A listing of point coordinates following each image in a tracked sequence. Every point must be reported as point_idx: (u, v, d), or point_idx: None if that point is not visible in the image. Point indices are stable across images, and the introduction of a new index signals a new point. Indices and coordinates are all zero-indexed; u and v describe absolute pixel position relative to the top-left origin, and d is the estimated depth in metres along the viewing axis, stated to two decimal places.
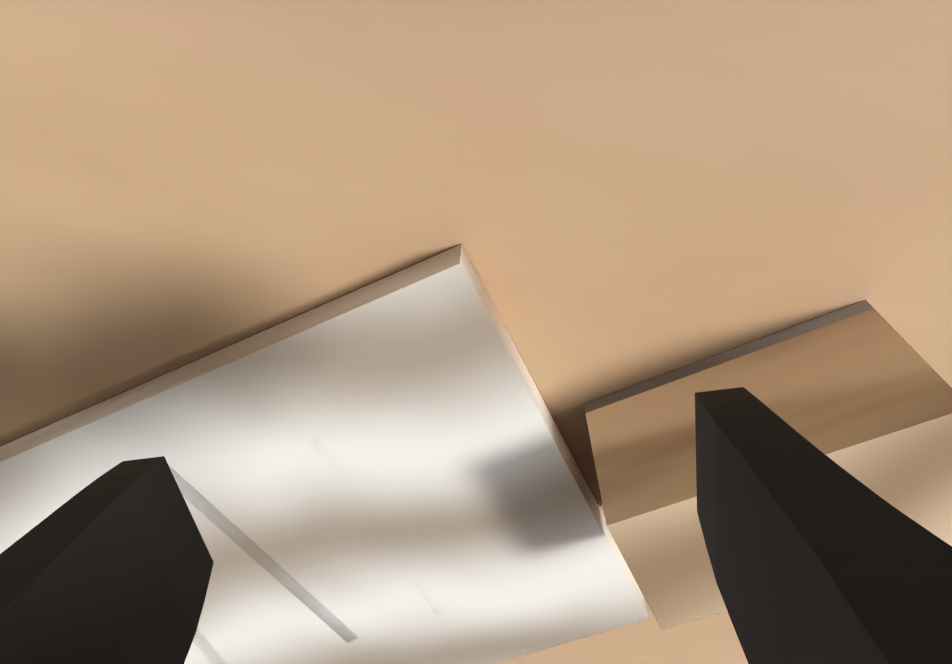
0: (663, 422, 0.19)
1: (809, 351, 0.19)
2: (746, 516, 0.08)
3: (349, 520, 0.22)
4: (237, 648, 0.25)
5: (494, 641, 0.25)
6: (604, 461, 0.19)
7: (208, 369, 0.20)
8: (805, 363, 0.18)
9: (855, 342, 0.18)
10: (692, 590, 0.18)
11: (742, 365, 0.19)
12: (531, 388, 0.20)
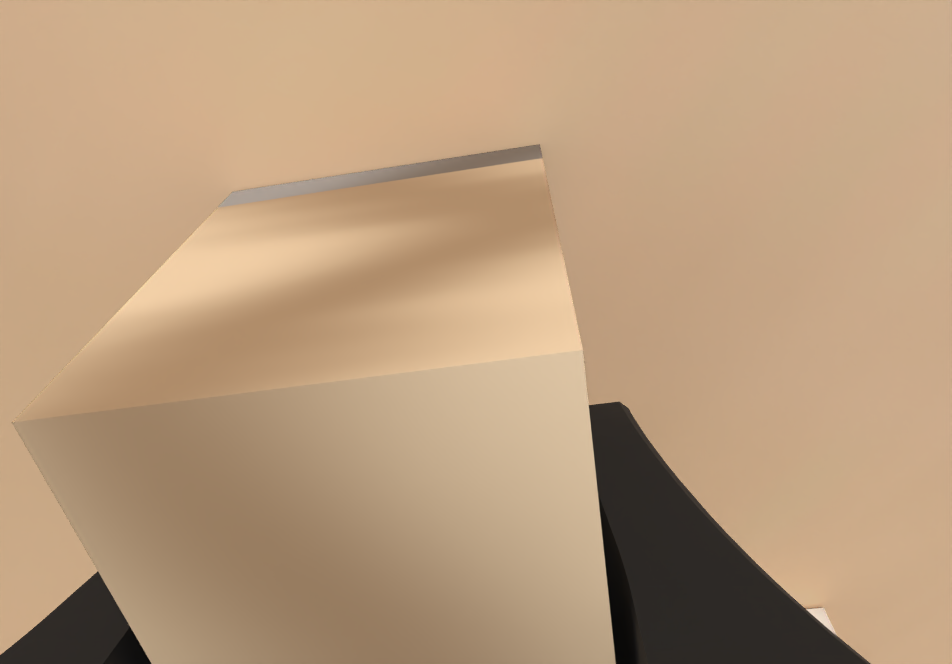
0: None
1: None
2: None
3: None
4: None
5: None
6: None
7: None
8: None
9: None
10: None
11: None
12: None
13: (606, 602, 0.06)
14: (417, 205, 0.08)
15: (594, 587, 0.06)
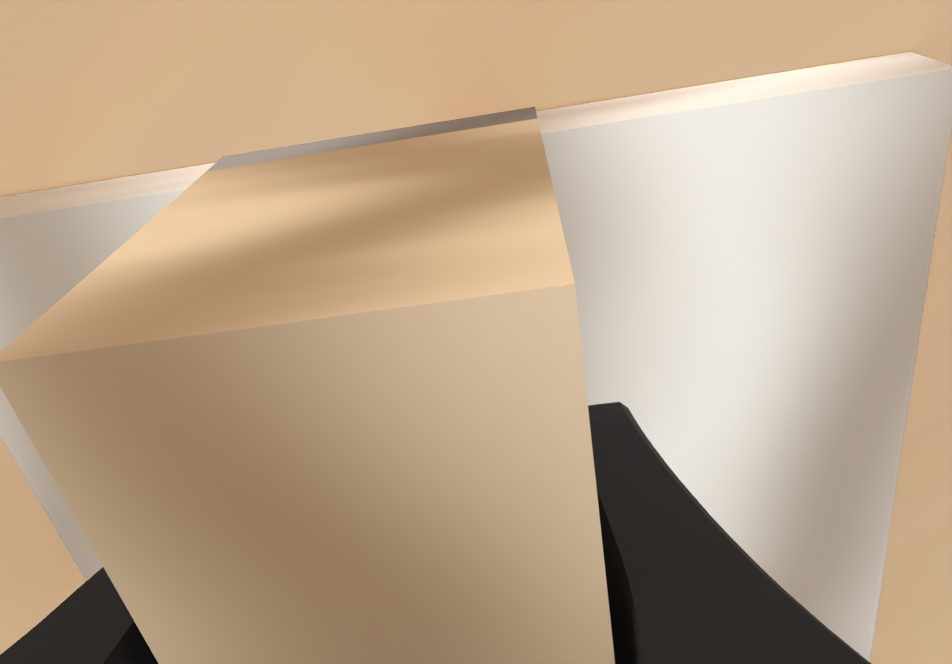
0: None
1: None
2: None
3: None
4: None
5: (835, 422, 0.11)
6: None
7: None
8: None
9: None
10: None
11: None
12: None
13: (600, 556, 0.06)
14: (409, 162, 0.08)
15: (588, 539, 0.06)
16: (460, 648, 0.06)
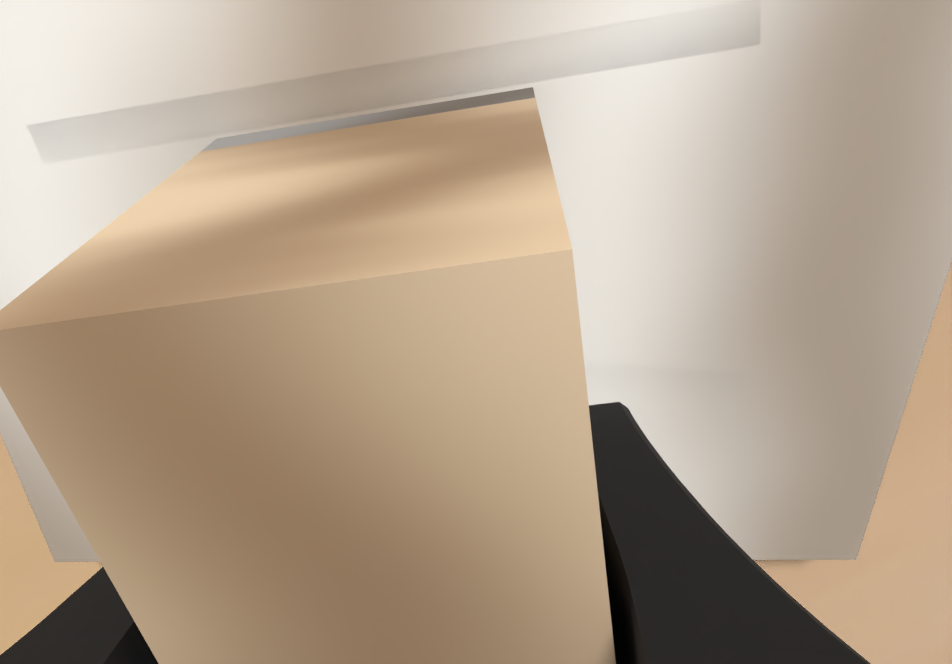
0: None
1: None
2: None
3: None
4: (623, 316, 0.10)
5: None
6: None
7: None
8: None
9: None
10: None
11: None
12: None
13: (599, 534, 0.06)
14: (404, 140, 0.08)
15: (586, 516, 0.06)
16: (455, 631, 0.06)
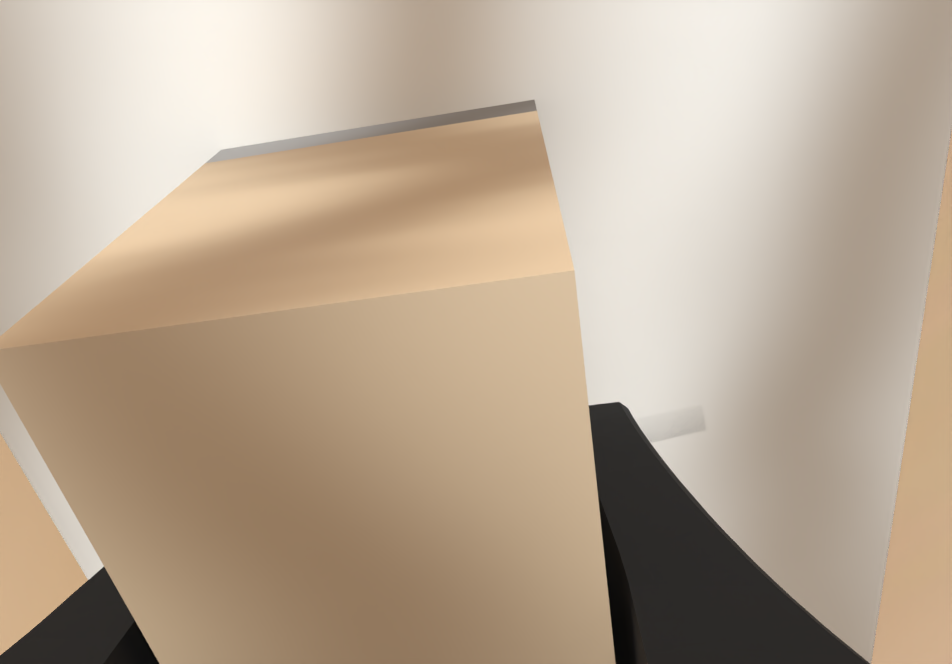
0: None
1: None
2: None
3: None
4: None
5: (865, 112, 0.09)
6: None
7: None
8: None
9: None
10: None
11: None
12: None
13: (600, 547, 0.06)
14: (408, 154, 0.08)
15: (587, 530, 0.06)
16: (459, 641, 0.06)
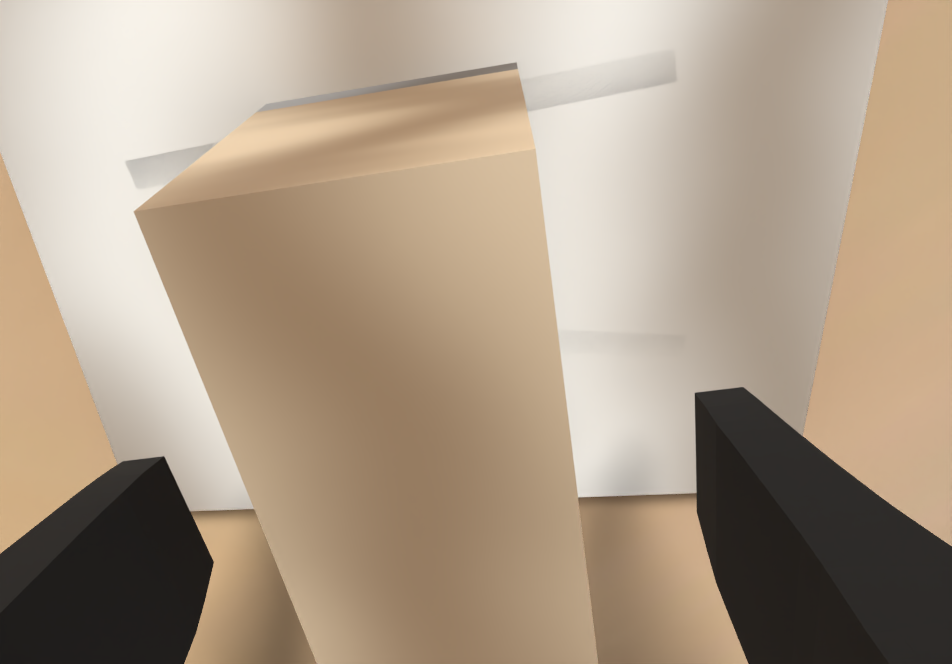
0: None
1: None
2: (746, 515, 0.08)
3: None
4: (588, 293, 0.13)
5: None
6: None
7: None
8: None
9: None
10: (517, 641, 0.10)
11: None
12: None
13: (559, 363, 0.08)
14: (418, 98, 0.10)
15: (550, 350, 0.08)
16: (458, 445, 0.09)
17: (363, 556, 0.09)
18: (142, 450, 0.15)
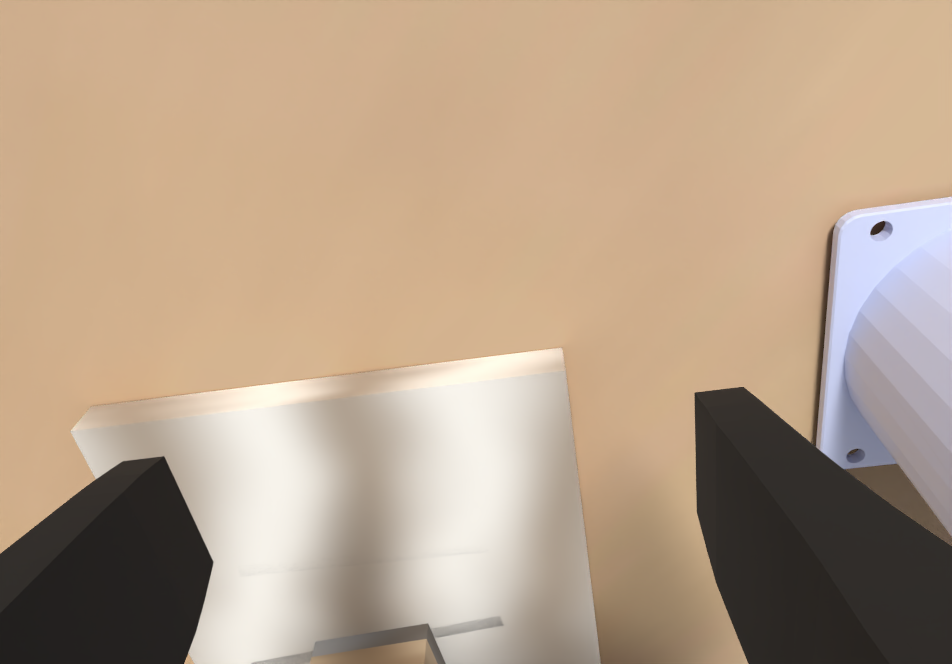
0: None
1: None
2: (746, 515, 0.08)
3: (341, 577, 0.23)
4: None
5: (547, 517, 0.22)
6: None
7: None
8: None
9: None
10: None
11: None
12: (227, 400, 0.21)
13: None
14: None
15: None
16: None
17: None
18: None
